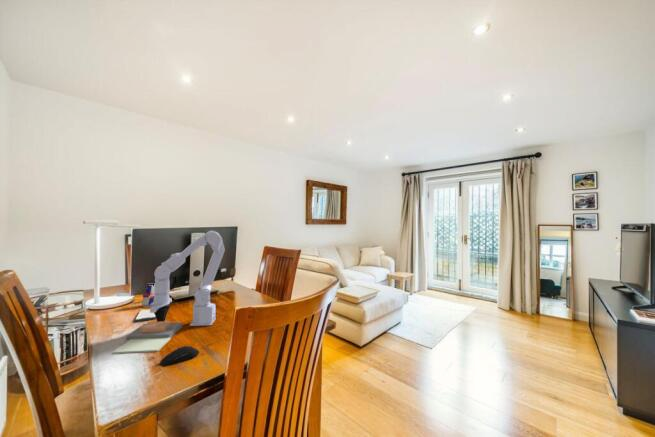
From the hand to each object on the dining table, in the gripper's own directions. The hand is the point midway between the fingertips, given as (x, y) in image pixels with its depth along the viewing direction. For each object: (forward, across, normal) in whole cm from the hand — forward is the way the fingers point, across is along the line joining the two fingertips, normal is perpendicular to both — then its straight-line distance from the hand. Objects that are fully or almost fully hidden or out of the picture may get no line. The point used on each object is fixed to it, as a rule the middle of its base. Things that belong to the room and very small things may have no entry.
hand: (161, 323), depth 111 cm
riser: (+3, +4, 0) cm, 5 cm away
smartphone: (+3, -18, -15) cm, 24 cm away
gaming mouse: (+3, +26, +18) cm, 32 cm away
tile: (+1, +4, 0) cm, 4 cm away
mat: (+3, +15, +1) cm, 15 cm away
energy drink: (+3, -34, -23) cm, 41 cm away
